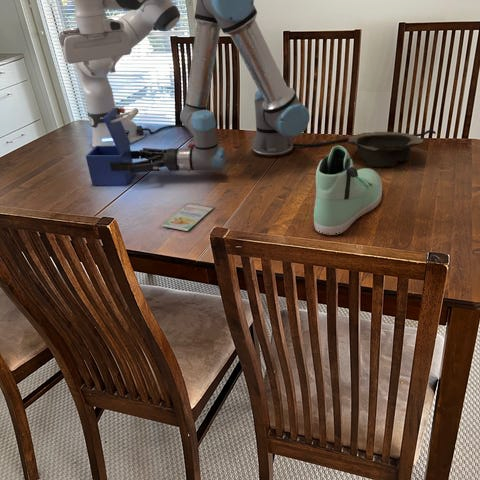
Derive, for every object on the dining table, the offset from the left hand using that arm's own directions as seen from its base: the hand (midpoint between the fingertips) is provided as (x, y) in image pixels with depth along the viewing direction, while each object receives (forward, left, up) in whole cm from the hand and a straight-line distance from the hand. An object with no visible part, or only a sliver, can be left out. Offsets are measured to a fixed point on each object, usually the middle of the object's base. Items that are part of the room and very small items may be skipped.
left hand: (102, 74), depth 149 cm
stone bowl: (-67, +62, -36) cm, 98 cm away
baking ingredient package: (+4, +40, -36) cm, 54 cm away
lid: (0, 0, -19) cm, 19 cm away
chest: (+2, -3, -36) cm, 36 cm away
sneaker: (-28, +73, -36) cm, 86 cm away
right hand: (+1, -1, -29) cm, 29 cm away
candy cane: (-31, -1, -36) cm, 47 cm away
